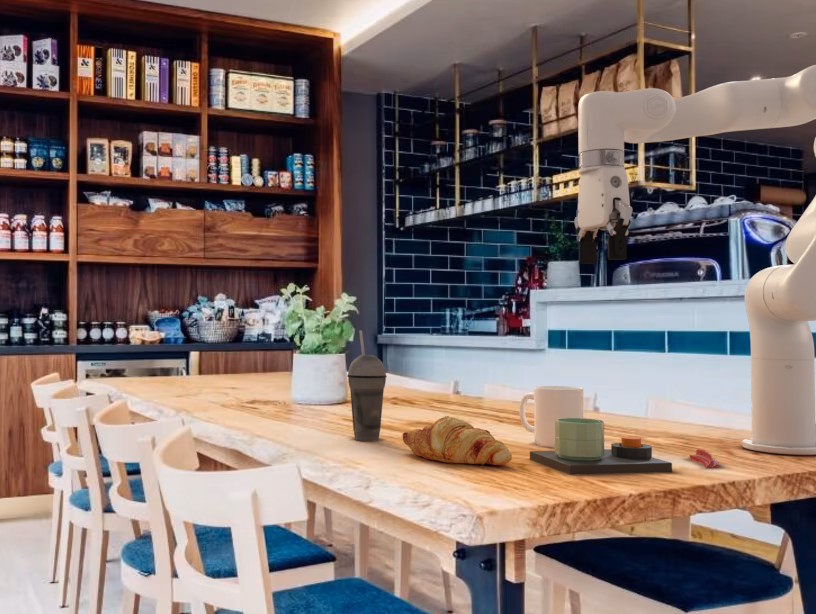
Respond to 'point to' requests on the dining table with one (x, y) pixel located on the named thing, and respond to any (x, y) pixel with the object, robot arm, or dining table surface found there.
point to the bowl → (579, 438)
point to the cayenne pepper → (704, 459)
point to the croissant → (457, 443)
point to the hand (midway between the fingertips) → (602, 261)
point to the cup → (551, 410)
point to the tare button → (631, 441)
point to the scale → (606, 461)
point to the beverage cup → (366, 394)
